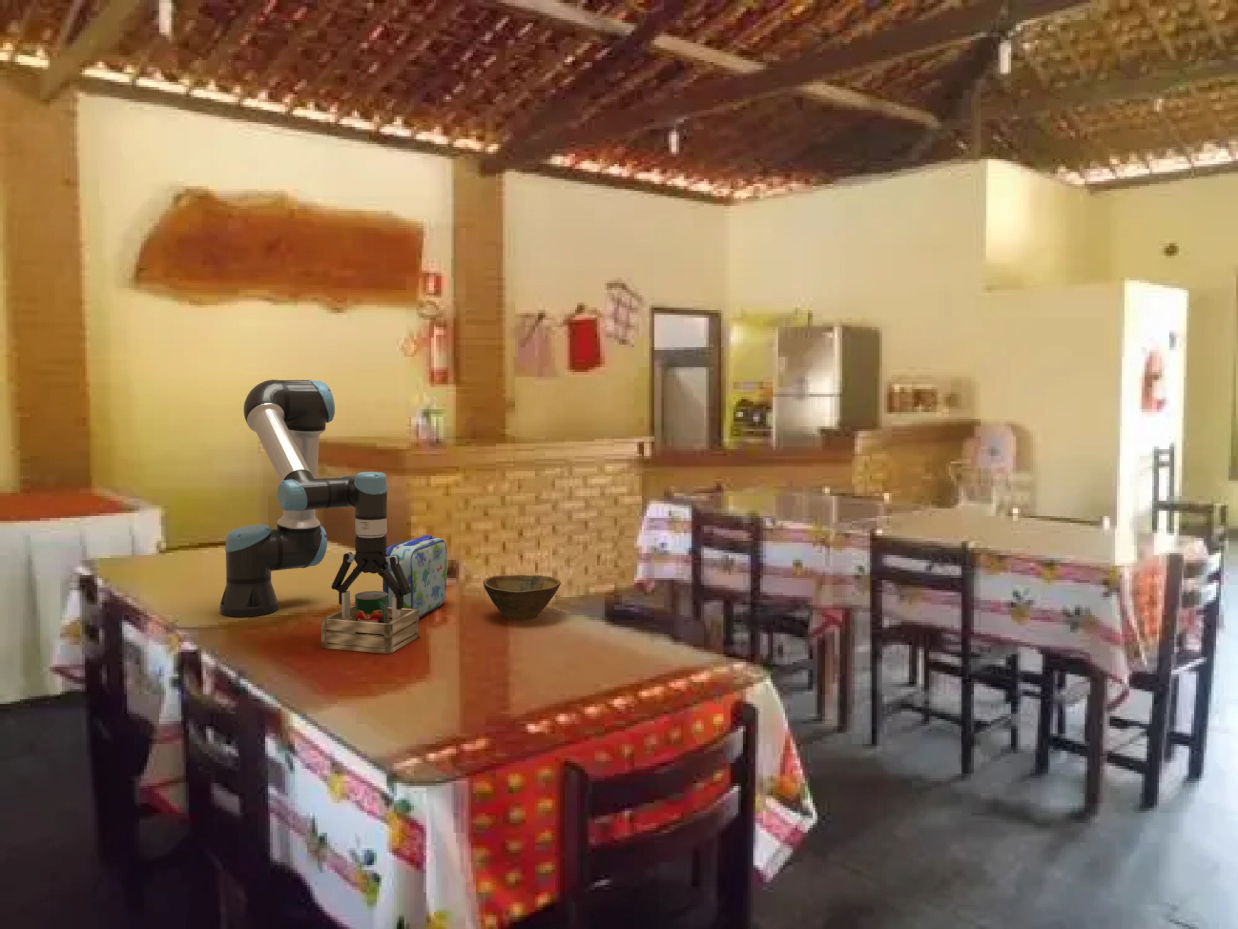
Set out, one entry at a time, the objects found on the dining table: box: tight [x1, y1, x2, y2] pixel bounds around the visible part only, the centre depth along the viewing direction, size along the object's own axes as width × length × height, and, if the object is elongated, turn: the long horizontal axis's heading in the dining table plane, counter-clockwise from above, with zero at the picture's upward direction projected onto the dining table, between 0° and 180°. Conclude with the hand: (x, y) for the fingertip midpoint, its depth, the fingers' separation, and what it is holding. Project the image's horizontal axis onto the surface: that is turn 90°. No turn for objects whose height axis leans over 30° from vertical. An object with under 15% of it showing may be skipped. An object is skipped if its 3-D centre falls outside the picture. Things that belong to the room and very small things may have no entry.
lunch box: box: [382, 534, 448, 619], centre depth 265 cm, size 26×11×21 cm, turn 168°
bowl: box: [482, 574, 562, 621], centre depth 263 cm, size 22×23×10 cm
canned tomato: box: [354, 590, 389, 636], centre depth 234 cm, size 8×8×11 cm
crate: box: [320, 604, 420, 655], centre depth 234 cm, size 18×16×7 cm
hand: (371, 620), depth 234 cm, fingers open, 13 cm apart
